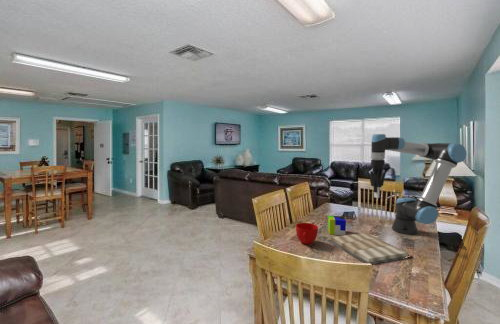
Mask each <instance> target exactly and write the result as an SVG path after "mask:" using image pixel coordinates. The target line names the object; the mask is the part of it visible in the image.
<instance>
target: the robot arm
mask: <svg viewBox="0 0 500 324" xmlns="http://www.w3.org/2000/svg"><path fill="white" fill-rule="evenodd" d="M370 143H371V147H370V148H371V151H370V153H371V155H370V159H371V160H370V165H371V170H368V171H367V173H368V176H369V182H370V186H372V187H373V197H374V198H377V199H379V198H380V192H381V188H382V187H383V186H384V183H385V182H384V181H385V178H386V174H387V170H386V169H385V168H384V167H385V162H386V160H385V158H386V151H391V152H397V153H403V154H409V155H417V156H419V157H420V158H426V159H429V160H432V161H434V162H435V164H434V165H435V166H434V167H433V168H432V169H433V170H432V171H431V174H430V176H429V177H428V180H427V182H426V184H425V186H424V188H423V190H422V192H421V195H420V196H419V197H417V198H412V197H399V198H397V199H396V202H395V206H396V207H395V219H394V221H393V224H392V227H391V229H392V231H394V232H396V233H399V234H403V235H411V236H412V234H414V235H417V234H419V233H418V231H419V230H418V227H417V223H416V222H418V223H420V224H423V225H430V224H433V223H434V222H436V221H437V220H438V217H439V211H438V209H437V208H438V204H437V201H438V199H439V197H440V195H441V192H442V190H443V188H444V186H445V185H446V182H447V180H448V178H449V176H450V174H451V171H452V169H453V168H456V167H457V166H458V164H459V163H462V162H464V161H465V160H466V159H467V150H466V147H465V146H464V145H463V144H461V143H456V142H447V143H446V142H444V143H443V142H438V143H437V142H435V143H432V142H431V143H428V142H427V143H426V142H422V143H416V142H410V141H405V139H404V138H403V137H401V136H399V137H398V136H397V137H395V136H393V137H392V136H391V137H390V136H389V137H387V136H386V134H385V133H380V134H379V133H375V134H374V133H373V134H372V135H371V142H370Z"/></svg>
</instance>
